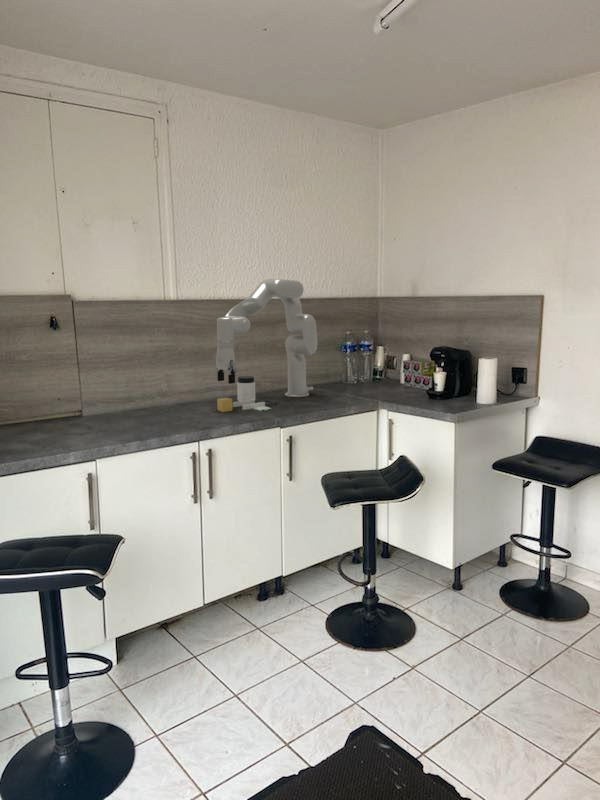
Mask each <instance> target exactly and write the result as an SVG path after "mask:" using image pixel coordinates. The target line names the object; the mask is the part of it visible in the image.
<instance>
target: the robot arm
mask: <svg viewBox="0 0 600 800" xmlns="http://www.w3.org/2000/svg"><path fill="white" fill-rule="evenodd" d="M304 291H305V289H304V285H303V283H301V282H300V281H299V280H293V279H292V280H291V279H282V278H267V279H263V280H262V281H261V282H260V283H259V285H258V286H257V287H256V288H255V289H254V290H253V292H252V293H251V294H250V295H249V296H248V297H247V298H246V299H244V300H242V301H241V302H239V303H238V304H236V305H234V306H233V307H232V308H230V310H229V311H228V312H227V313H226V314H225V316H221V317H217V319H216V342H217V348H216V355H215V368H216V373H217V381H218V382H222V381H225V372H224V371H227V373H228V374H227V375H228V384H230V385H231V384H232V385H233V384H235V383H236V374H237V369H238V368H237V367H238V366H237V364H236V357H235V349H234V348H235V333H236V334H244V333H247V332H249V330H250V329H251V322H250V320H249V319H248V318H247V317H248V316H252V315H255V314H256V313H259V312H261V311H262V310H263V309H264V308H265V306H266V305H267V304H268V303H269V301H270V300H271V299H272V298H278V299H279V300H281V302H282V304H283V307H284V313H285V324H286V328H287V331H289V332H291V333H296V334H290V335H289V336H288V337H287V338H286V339H285V342H284V343H285V345H284V346H285V351H286V357H287V358H286V359H287V392H285V393H284V396H285V397H288V398H305V397H308V396H310V393H309V391H313V390H314V387H313V386H307V361H306V357H305V355H313V354H315V353H316V352H317V349H318V343H319V342H318V331H317V330H318V329H317V321H316V319H315V317H314V316H313V315H312V314H308V313H303V310H302V309H303V308H302V302H301V300H300V298H301V297H302V295H304ZM297 333H298V334H297Z"/></svg>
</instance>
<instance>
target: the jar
mask: <svg viewBox="0 0 600 800" xmlns="http://www.w3.org/2000/svg"><path fill="white" fill-rule="evenodd" d="M236 391H237V395H236V397H237V402H238V401H245V400H252V399H255V400H256V382H255V377H254V375H240V376H237V383H236Z"/></svg>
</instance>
